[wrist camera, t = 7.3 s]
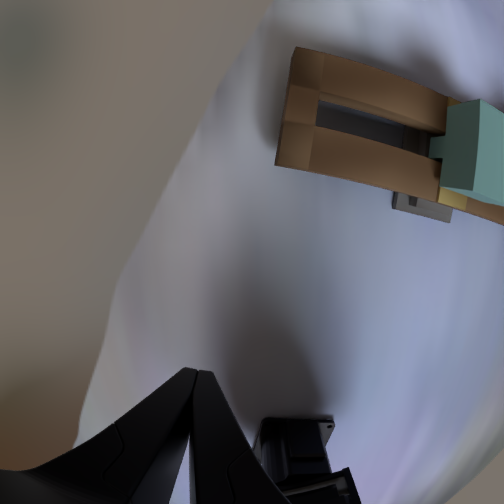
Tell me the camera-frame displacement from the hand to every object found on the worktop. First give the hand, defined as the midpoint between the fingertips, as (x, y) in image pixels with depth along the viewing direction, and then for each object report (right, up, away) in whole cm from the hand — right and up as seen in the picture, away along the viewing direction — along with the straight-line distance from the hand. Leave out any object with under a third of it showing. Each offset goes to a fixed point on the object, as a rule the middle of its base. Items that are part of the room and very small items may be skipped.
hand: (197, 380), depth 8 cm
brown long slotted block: (+14, +11, +10) cm, 20 cm away
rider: (+15, +10, +8) cm, 20 cm away
